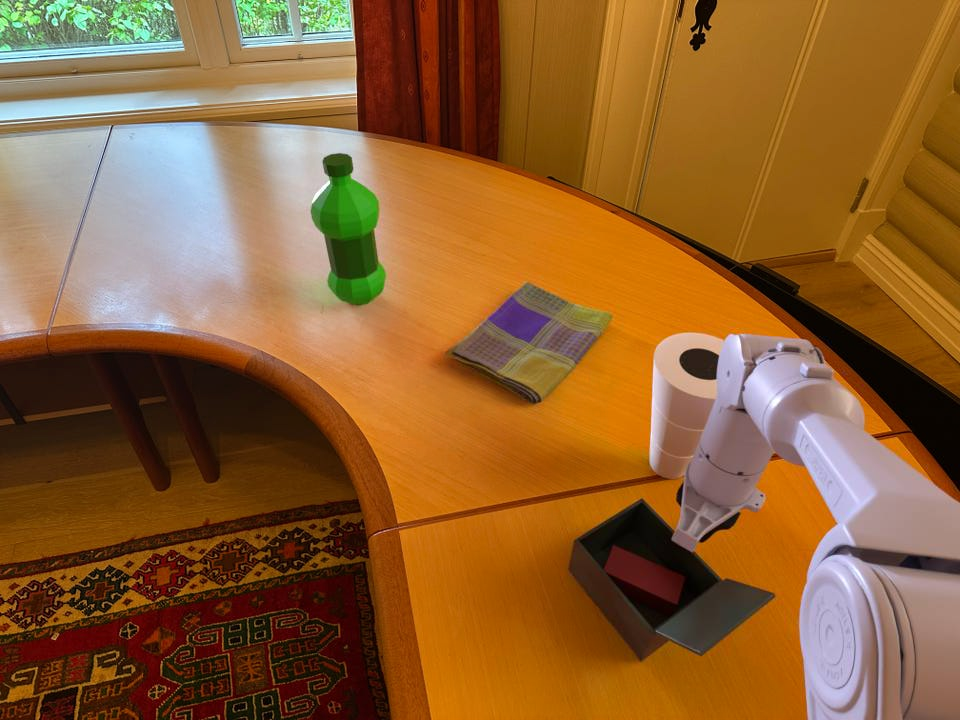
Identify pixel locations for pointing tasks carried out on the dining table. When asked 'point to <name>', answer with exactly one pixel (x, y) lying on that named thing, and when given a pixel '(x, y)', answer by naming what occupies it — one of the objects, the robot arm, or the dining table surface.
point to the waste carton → (651, 541)
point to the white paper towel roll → (681, 399)
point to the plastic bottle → (349, 232)
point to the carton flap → (714, 615)
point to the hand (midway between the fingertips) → (695, 533)
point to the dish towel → (531, 342)
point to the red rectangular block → (644, 581)
